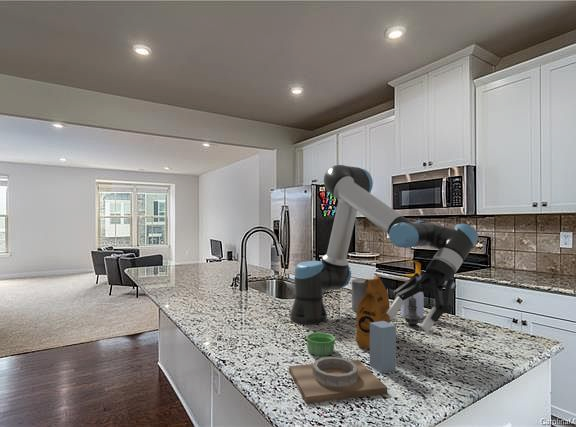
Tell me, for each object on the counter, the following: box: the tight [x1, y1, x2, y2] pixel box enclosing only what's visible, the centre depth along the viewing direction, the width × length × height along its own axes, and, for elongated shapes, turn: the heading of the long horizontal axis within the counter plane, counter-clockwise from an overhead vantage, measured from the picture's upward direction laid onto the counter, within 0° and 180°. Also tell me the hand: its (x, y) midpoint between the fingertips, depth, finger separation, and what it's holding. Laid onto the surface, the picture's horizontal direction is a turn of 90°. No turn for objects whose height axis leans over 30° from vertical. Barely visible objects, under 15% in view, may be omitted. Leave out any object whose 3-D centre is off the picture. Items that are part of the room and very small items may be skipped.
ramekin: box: [305, 332, 336, 357], centre depth 104 cm, size 9×9×4 cm
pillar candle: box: [350, 277, 368, 313], centre depth 152 cm, size 10×10×15 cm
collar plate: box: [288, 356, 388, 405], centre depth 84 cm, size 16×20×4 cm
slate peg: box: [369, 321, 397, 374], centre depth 93 cm, size 5×5×12 cm
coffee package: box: [355, 275, 391, 350], centre depth 111 cm, size 10×12×22 cm
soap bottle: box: [400, 258, 425, 320], centre depth 143 cm, size 9×9×25 cm
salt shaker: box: [403, 296, 421, 329], centre depth 130 cm, size 6×6×12 cm
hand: (405, 322), depth 95 cm, fingers open, 13 cm apart
